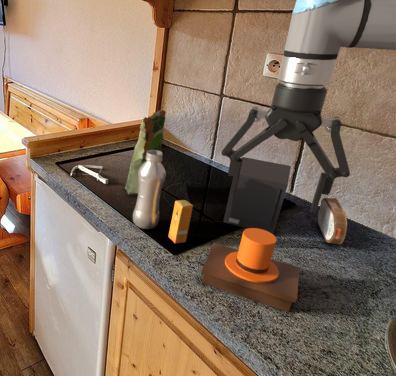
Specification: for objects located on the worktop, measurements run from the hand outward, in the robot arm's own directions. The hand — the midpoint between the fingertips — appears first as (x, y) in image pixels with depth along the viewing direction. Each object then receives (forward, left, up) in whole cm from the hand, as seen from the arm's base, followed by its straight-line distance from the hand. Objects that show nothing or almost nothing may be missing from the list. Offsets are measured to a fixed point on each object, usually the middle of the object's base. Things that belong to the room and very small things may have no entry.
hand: (271, 200), depth 75 cm
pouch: (+33, -29, -20) cm, 48 cm away
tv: (+3, -31, -19) cm, 37 cm away
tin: (-14, -32, -20) cm, 40 cm away
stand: (0, 0, -19) cm, 19 cm away
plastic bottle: (+26, -11, -20) cm, 34 cm away
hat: (0, 0, -15) cm, 15 cm away
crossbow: (+52, -32, -20) cm, 64 cm away
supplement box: (+17, -9, -20) cm, 28 cm away
